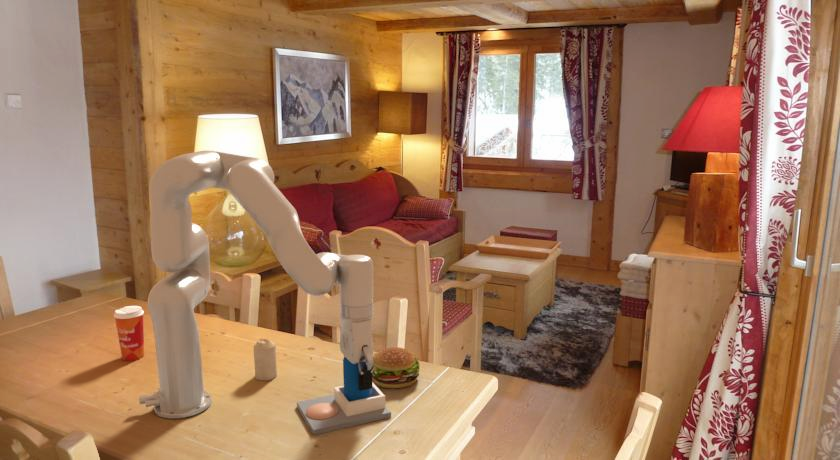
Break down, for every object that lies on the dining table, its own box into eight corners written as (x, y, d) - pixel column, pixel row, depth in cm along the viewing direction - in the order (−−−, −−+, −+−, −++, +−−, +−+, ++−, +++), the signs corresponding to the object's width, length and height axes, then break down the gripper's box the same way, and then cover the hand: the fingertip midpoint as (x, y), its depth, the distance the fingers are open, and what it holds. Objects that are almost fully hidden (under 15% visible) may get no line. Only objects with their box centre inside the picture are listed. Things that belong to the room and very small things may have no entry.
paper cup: (111, 360, 172) (106, 312, 170) (133, 350, 179) (129, 303, 177) (133, 364, 169) (128, 315, 167) (154, 353, 176) (150, 307, 174)
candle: (281, 374, 163) (279, 338, 161) (267, 382, 158) (265, 345, 156) (264, 370, 165) (262, 334, 163) (250, 378, 161) (248, 342, 159)
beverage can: (367, 410, 141) (366, 360, 139) (340, 407, 142) (338, 358, 140) (375, 398, 147) (374, 350, 145) (349, 395, 148) (348, 348, 146)
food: (368, 368, 167) (367, 340, 165) (420, 368, 166) (420, 340, 165) (362, 391, 153) (361, 361, 152) (418, 392, 153) (418, 361, 151)
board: (313, 435, 133) (312, 417, 132) (297, 406, 145) (296, 390, 145) (391, 417, 141) (390, 399, 140) (368, 391, 153) (368, 375, 152)
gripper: (329, 301, 146) (330, 368, 149) (353, 324, 131) (355, 399, 134) (359, 297, 149) (360, 363, 153) (386, 319, 134) (387, 392, 137)
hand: (357, 380), depth 143 cm, fingers open, 9 cm apart
